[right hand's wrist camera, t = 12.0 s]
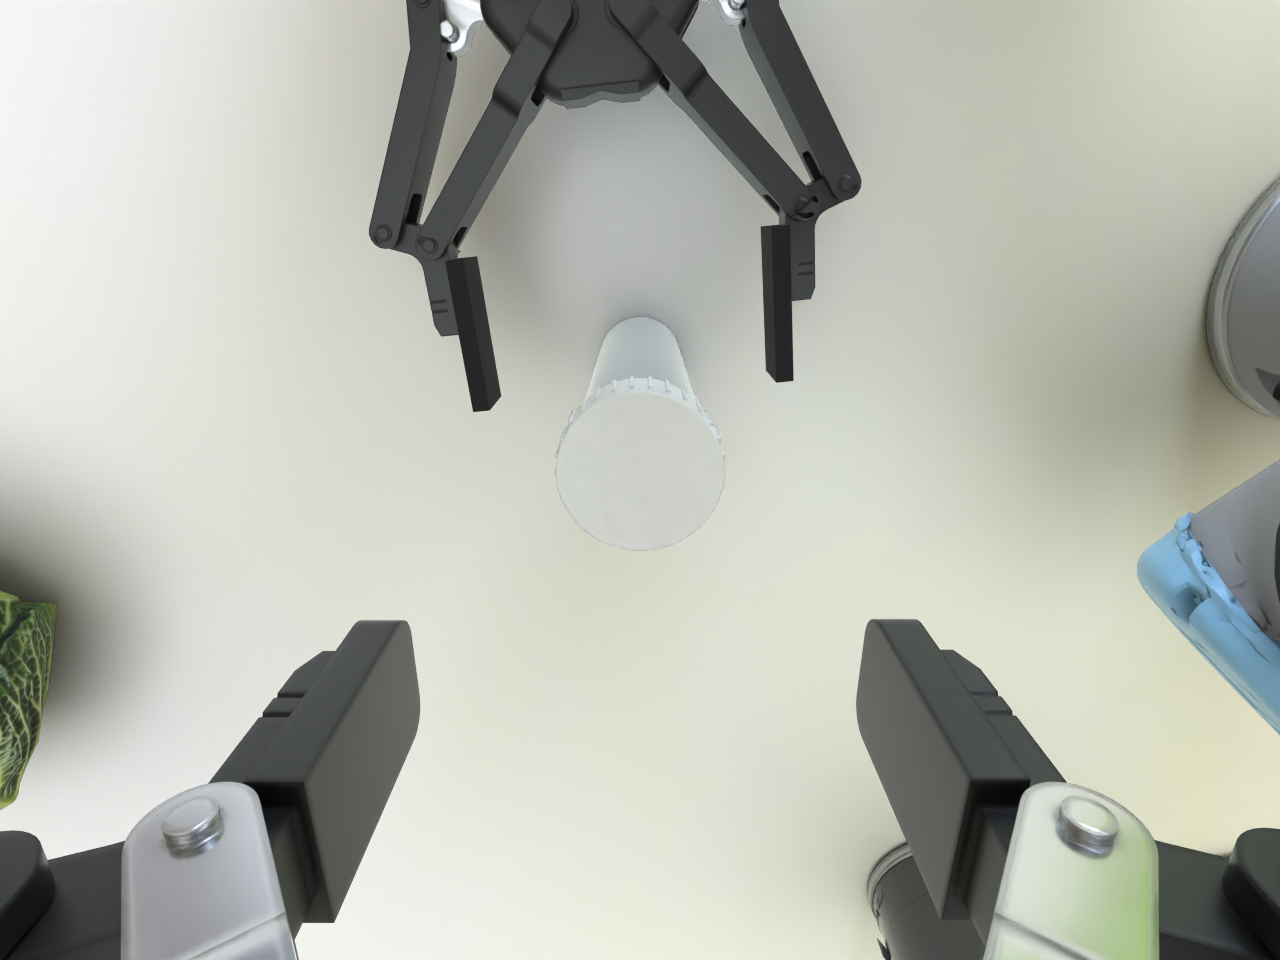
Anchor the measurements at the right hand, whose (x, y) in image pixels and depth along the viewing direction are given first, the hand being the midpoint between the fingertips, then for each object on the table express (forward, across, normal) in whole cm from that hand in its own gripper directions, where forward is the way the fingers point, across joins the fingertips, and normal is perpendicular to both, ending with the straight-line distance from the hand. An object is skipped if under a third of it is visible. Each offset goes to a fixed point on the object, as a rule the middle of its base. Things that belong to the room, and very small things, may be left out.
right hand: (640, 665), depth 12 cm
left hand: (+22, 0, 0) cm, 22 cm away
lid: (+10, 0, 0) cm, 10 cm away
